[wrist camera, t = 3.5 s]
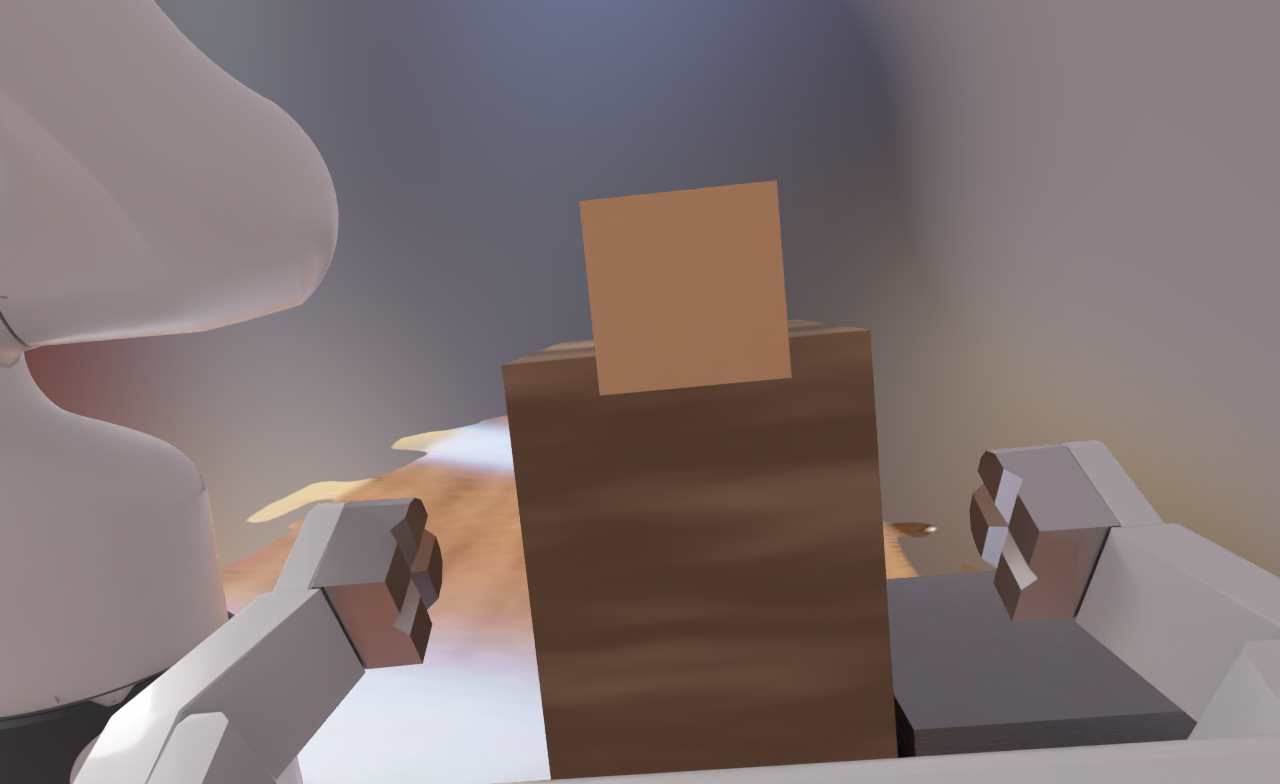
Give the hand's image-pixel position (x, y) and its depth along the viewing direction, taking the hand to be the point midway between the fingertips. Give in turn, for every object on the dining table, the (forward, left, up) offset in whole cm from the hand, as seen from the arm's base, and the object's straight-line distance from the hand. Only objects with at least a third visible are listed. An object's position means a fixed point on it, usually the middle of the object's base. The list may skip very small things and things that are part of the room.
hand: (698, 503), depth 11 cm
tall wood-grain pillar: (-12, +12, -24) cm, 30 cm away
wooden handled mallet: (-8, +8, +2) cm, 12 cm away
